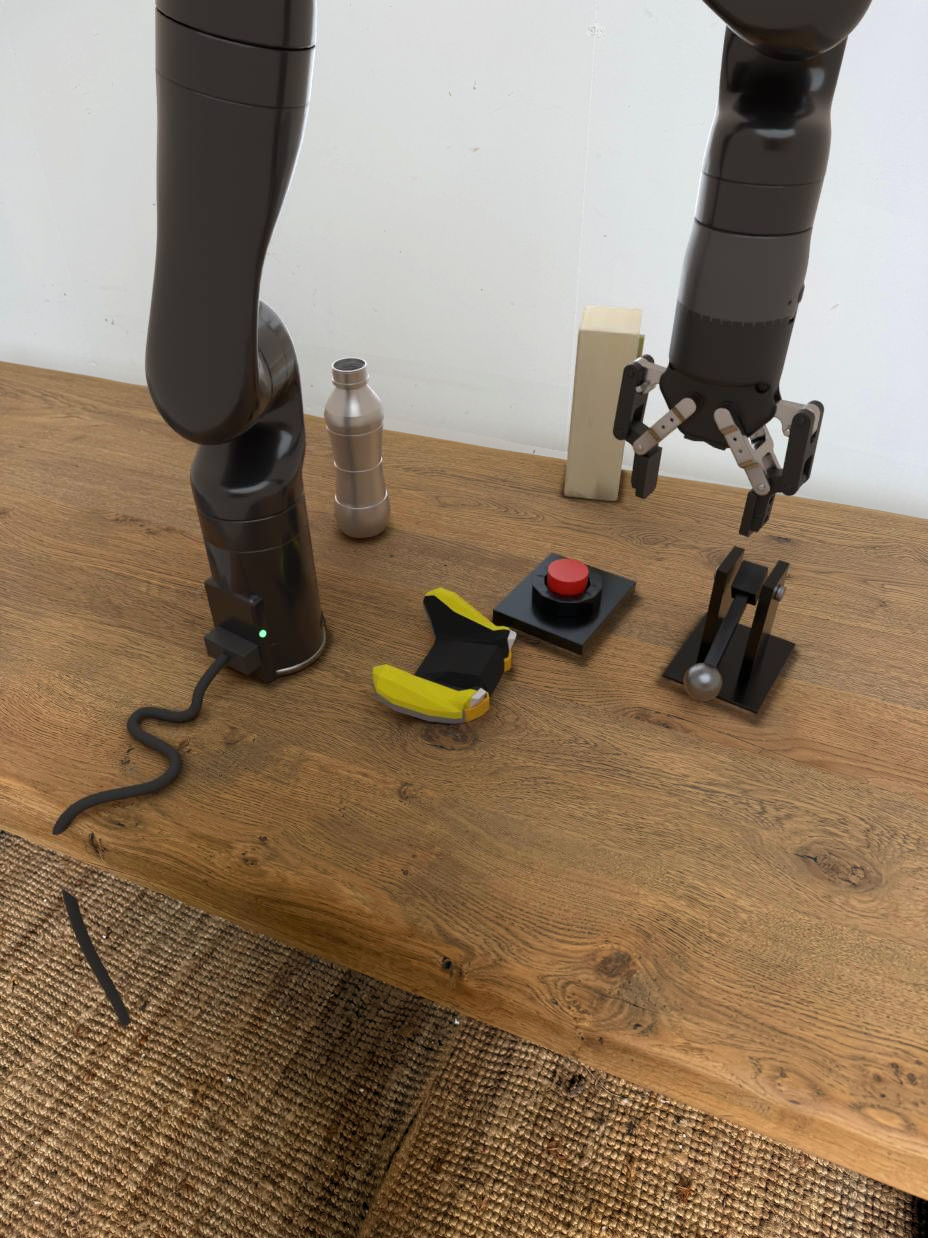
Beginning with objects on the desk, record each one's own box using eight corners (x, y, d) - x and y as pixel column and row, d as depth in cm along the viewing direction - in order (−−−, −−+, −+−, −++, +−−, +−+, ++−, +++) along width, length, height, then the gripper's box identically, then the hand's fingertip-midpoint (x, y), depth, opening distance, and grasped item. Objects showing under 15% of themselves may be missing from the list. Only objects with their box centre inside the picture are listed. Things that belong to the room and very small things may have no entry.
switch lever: (714, 711, 73) (712, 699, 71) (678, 697, 75) (675, 684, 72) (773, 583, 77) (774, 567, 74) (738, 571, 78) (737, 555, 75)
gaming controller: (365, 721, 77) (470, 752, 74) (360, 676, 73) (470, 706, 70) (432, 622, 87) (526, 645, 85) (431, 578, 84) (528, 600, 81)
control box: (580, 662, 82) (584, 630, 80) (492, 626, 87) (492, 595, 84) (634, 598, 90) (638, 567, 88) (550, 568, 95) (552, 537, 92)
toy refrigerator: (623, 503, 105) (645, 333, 92) (563, 497, 106) (576, 328, 93) (627, 471, 111) (648, 307, 98) (570, 466, 112) (583, 303, 99)
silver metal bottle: (326, 538, 99) (304, 372, 87) (353, 509, 104) (337, 348, 92) (376, 550, 97) (361, 381, 85) (401, 520, 102) (391, 356, 90)
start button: (575, 601, 84) (576, 586, 83) (539, 587, 86) (540, 573, 85) (594, 580, 87) (595, 566, 86) (559, 568, 88) (560, 553, 87)
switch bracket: (755, 721, 76) (785, 617, 69) (660, 683, 80) (679, 581, 73) (793, 652, 83) (824, 551, 76) (704, 620, 87) (725, 521, 80)
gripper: (611, 288, 56) (588, 502, 67) (827, 339, 49) (765, 569, 60) (665, 260, 61) (636, 465, 71) (870, 303, 54) (805, 522, 64)
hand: (695, 512), depth 65 cm, fingers open, 8 cm apart
